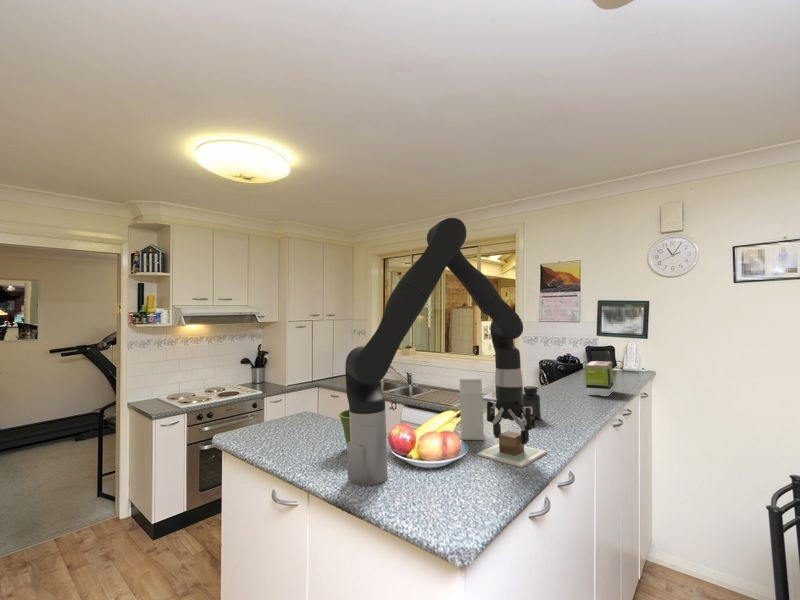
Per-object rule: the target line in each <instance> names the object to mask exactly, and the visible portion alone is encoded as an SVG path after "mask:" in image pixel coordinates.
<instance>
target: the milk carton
mask: <svg viewBox="0 0 800 600" xmlns="http://www.w3.org/2000/svg"><path fill="white" fill-rule="evenodd" d="M483 407H484V406H483V385H482V379H481V378H477V379H475V378H471V379H470V378H469V379H468V378H467V379H466V378H465V379H464V378H461V379H460V378H459V409H460V410H459V411H460V432H461V433H460V436H461V440H462V441H463V440H464V441H484V440H485V432H484V431H485V430H484V428H485V427H484V411H483V410H484V408H483Z"/></svg>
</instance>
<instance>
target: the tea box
mask: <svg viewBox="0 0 800 600" xmlns="http://www.w3.org/2000/svg"><path fill="white" fill-rule="evenodd" d="M613 371H614V370H613V362H612V361H605V360H604V361H602V360H601V361H599V360H595V361H593V360H591V361H589V362H588V363H586V364H584V373H585V388H586V394H587V393H596V394H607V395H610V394H611V392H612V391H613V390H614V391H615V386H614V372H613ZM611 395H612V394H611ZM611 395H610V396H611Z"/></svg>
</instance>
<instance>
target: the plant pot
mask: <svg viewBox="0 0 800 600" xmlns="http://www.w3.org/2000/svg"><path fill="white" fill-rule="evenodd" d="M338 417H339V418H340V422H341V424H342V428H343V433H344V438H345V445H347V442H349V441H350V415H349V409H346V410H343V411H340V412H339V413H338Z"/></svg>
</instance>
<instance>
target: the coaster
mask: <svg viewBox="0 0 800 600" xmlns="http://www.w3.org/2000/svg"><path fill="white" fill-rule="evenodd" d="M547 452H548V451H546V450H543V449H538V448H534V447H530V446H526V445H524V452H522V453H520V454H518V455H516V456H513V455H509V454H505V453H501V452H499V443H497V444H495V445H493V446H490V447H488V448H486V449H484V450H481V451H480V452H479V451H478V452H477V453H476V455H477V456H479V457H481V458H486V459H490V460H494V461H496V462H500V463H504V464H508V465H511V466H514V467H519V468H523V467H525V466H527V465H529V464H531V463H533V462H534V461H536V460H537V459H539V458H541V457H543V456H544V455H545V456H546V454H547Z"/></svg>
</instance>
